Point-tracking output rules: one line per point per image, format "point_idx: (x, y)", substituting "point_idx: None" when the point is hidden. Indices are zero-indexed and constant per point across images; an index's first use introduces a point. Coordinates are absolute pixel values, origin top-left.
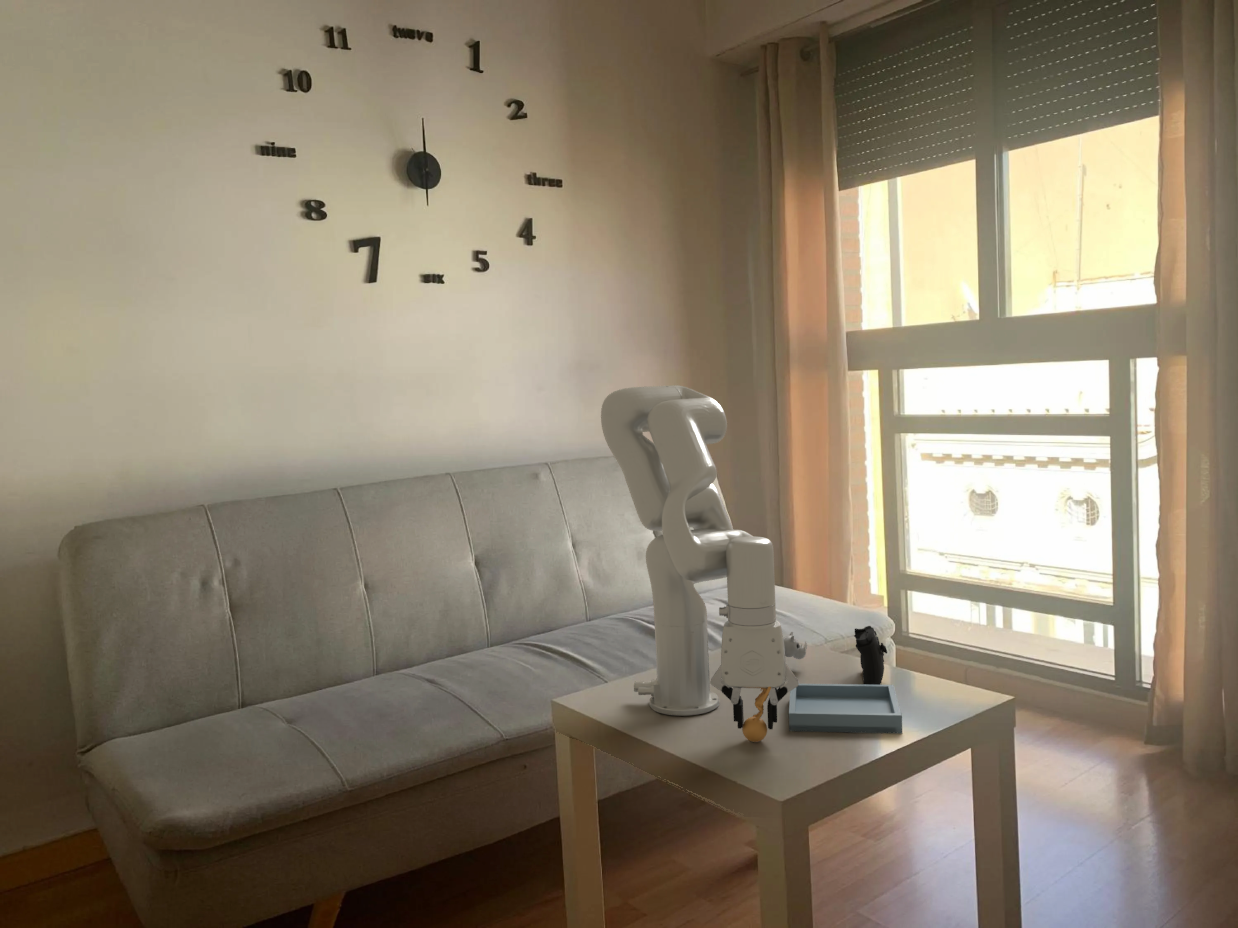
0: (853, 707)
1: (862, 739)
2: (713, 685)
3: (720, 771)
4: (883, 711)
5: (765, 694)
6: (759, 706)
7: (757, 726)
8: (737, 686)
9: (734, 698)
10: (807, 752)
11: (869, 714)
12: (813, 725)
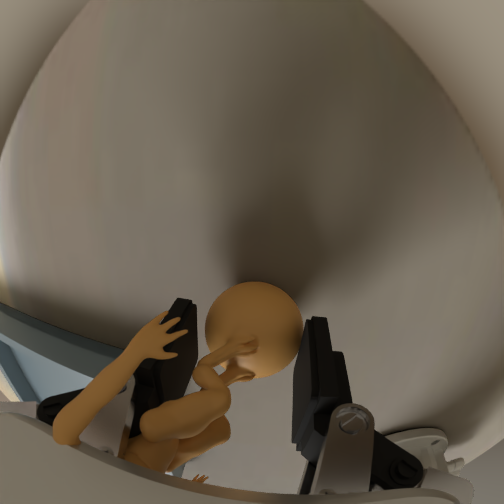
0: None
1: (22, 283)
2: (458, 479)
3: (391, 41)
4: (29, 374)
5: (99, 391)
6: (207, 386)
7: (238, 310)
8: (359, 500)
9: (352, 432)
10: (96, 203)
11: (2, 334)
12: (100, 354)
